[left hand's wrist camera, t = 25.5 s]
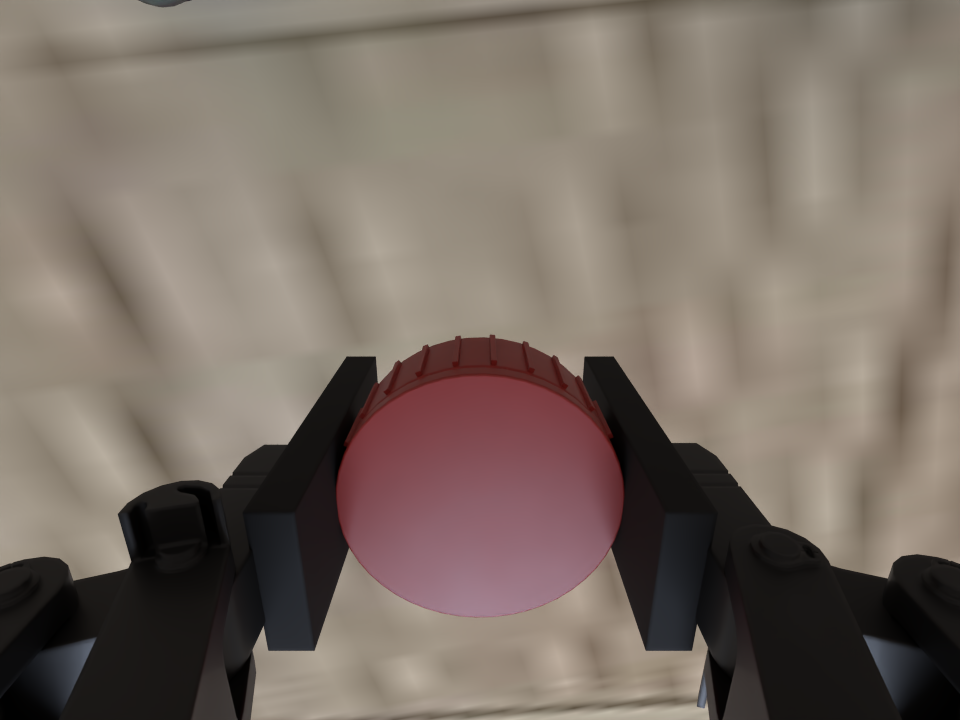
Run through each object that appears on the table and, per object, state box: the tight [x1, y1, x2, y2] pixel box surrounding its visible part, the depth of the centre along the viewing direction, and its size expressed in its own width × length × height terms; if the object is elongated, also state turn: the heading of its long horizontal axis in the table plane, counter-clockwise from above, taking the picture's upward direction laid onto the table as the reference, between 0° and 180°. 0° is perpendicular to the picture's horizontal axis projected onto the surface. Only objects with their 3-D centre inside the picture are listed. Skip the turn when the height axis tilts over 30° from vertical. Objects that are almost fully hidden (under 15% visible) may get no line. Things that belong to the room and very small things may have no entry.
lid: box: [336, 335, 624, 617], centre depth 11 cm, size 6×6×2 cm
